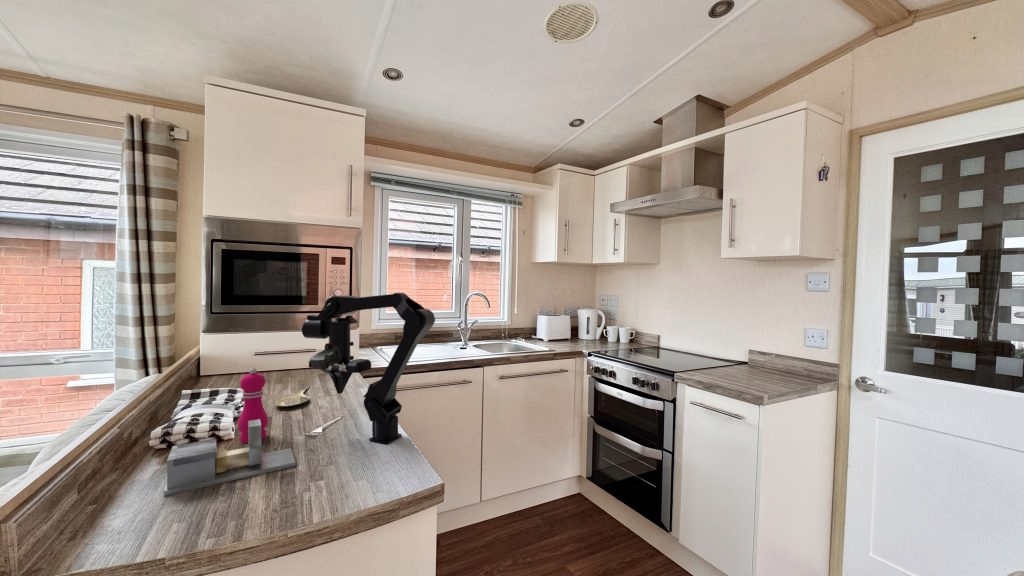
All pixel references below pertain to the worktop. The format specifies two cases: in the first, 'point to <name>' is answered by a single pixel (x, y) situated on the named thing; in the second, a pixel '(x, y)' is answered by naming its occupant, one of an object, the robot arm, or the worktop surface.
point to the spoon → (297, 395)
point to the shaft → (242, 451)
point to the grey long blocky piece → (214, 466)
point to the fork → (322, 427)
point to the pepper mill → (252, 404)
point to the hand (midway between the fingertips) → (339, 393)
